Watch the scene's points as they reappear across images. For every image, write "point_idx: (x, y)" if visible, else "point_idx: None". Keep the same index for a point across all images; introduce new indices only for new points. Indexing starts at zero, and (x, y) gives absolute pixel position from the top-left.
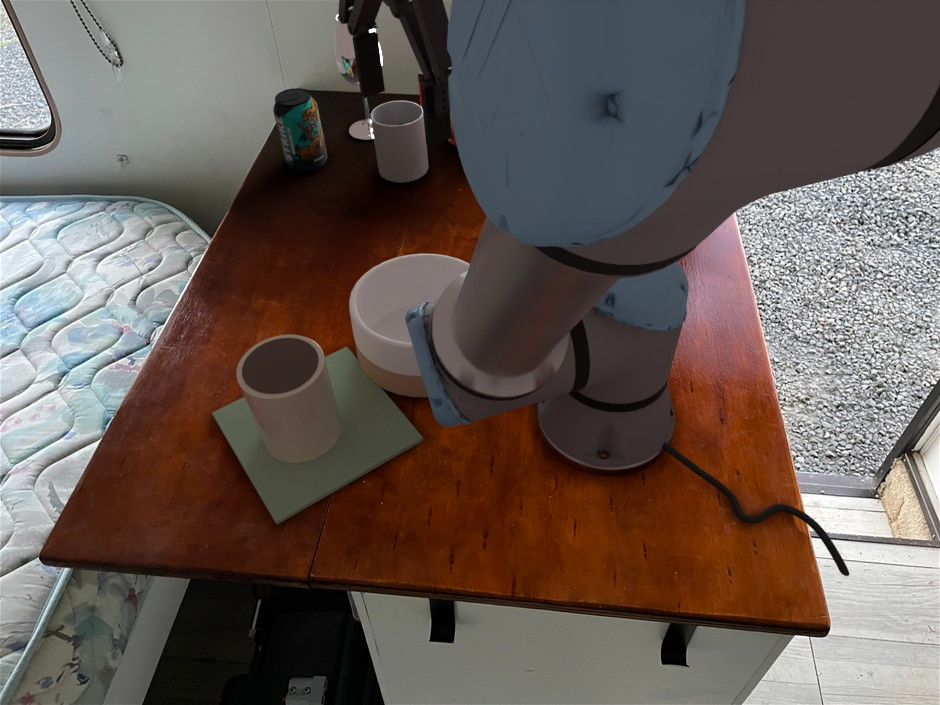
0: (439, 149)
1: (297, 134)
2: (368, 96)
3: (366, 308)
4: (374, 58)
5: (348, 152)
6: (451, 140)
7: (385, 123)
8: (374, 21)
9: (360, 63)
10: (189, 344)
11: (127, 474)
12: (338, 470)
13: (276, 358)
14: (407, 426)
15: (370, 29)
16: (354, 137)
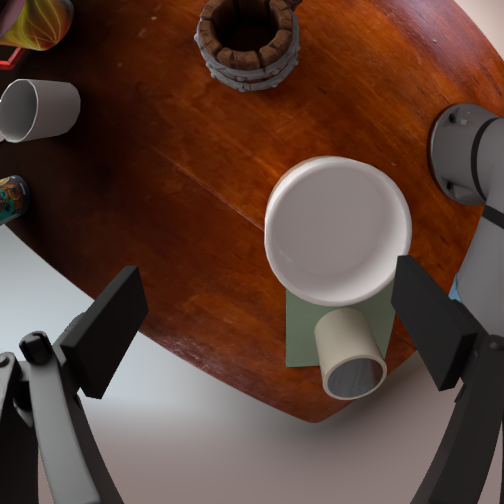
0: (51, 62)
1: (4, 214)
2: (146, 302)
3: (284, 264)
4: (108, 323)
5: (18, 152)
6: (48, 47)
7: (13, 118)
8: (60, 376)
9: (121, 356)
10: (208, 357)
11: (296, 401)
12: (384, 323)
13: (348, 380)
14: None
15: (55, 354)
16: (3, 139)
